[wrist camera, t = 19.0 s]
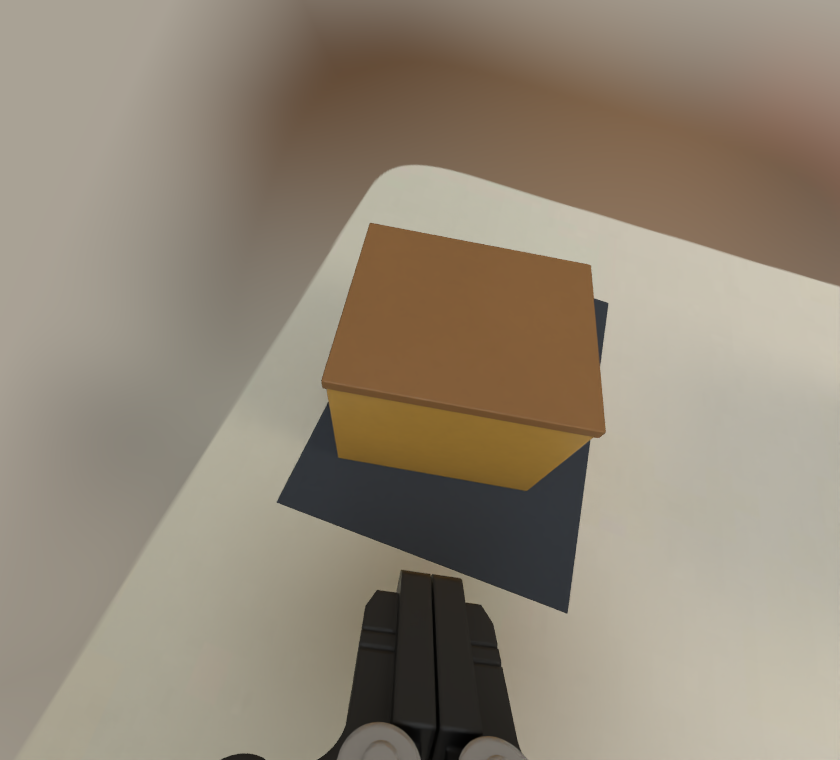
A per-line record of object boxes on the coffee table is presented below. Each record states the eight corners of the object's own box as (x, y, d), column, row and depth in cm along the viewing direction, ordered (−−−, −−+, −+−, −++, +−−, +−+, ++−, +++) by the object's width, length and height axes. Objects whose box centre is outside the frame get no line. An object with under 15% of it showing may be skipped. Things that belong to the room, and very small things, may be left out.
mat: (277, 503, 22) (276, 502, 22) (412, 240, 33) (412, 238, 33) (566, 613, 21) (567, 613, 21) (607, 304, 32) (608, 303, 32)
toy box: (528, 493, 24) (606, 433, 16) (335, 459, 24) (320, 381, 16) (530, 360, 29) (591, 264, 21) (368, 330, 28) (369, 221, 21)
